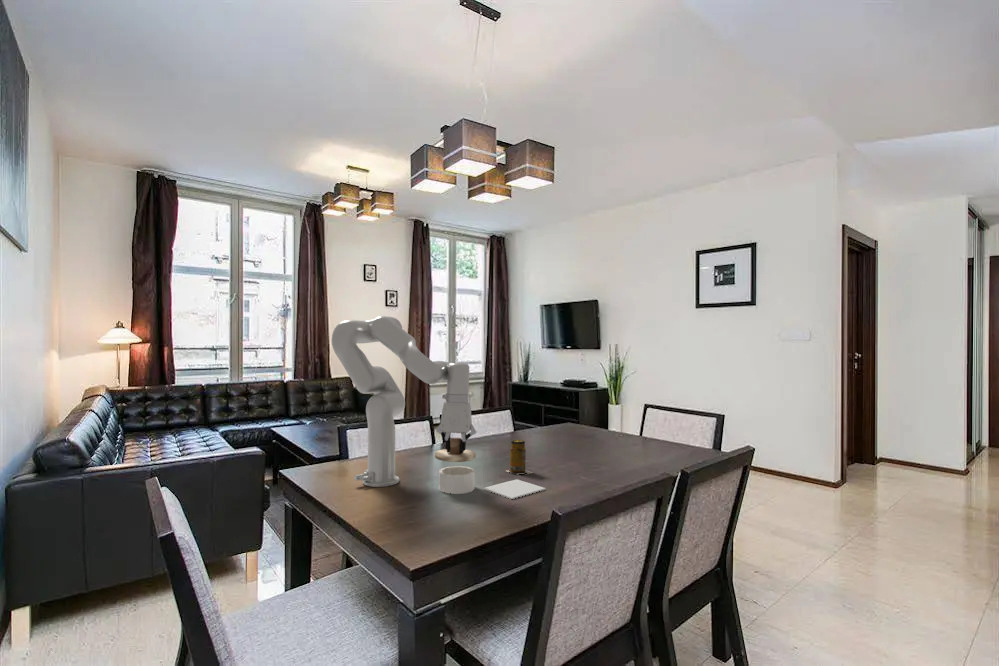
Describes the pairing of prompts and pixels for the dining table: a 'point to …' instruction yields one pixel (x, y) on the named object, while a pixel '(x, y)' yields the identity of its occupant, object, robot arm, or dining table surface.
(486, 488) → the mat
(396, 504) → the dining table surface
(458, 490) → the bowl
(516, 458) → the condiment
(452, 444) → the lid
